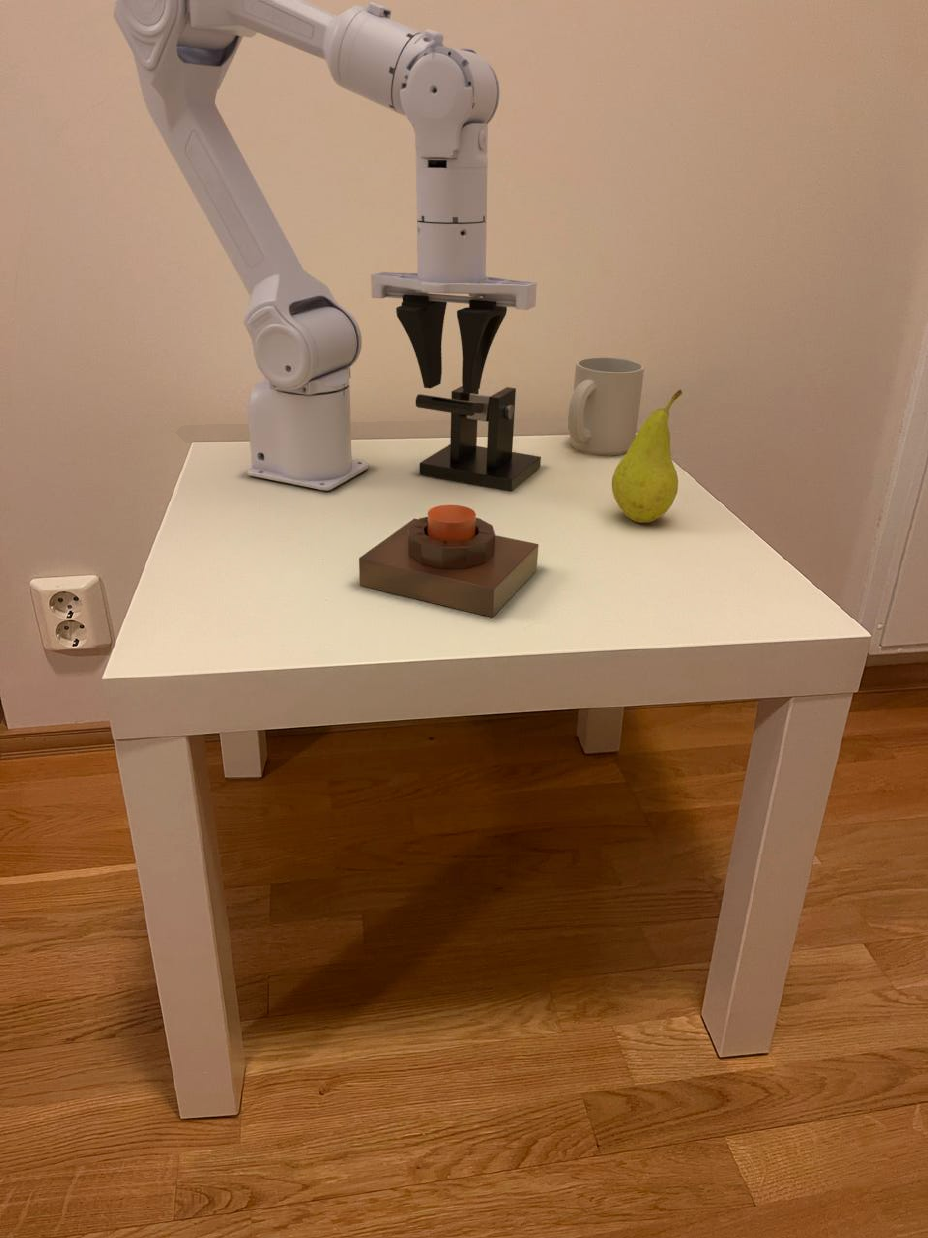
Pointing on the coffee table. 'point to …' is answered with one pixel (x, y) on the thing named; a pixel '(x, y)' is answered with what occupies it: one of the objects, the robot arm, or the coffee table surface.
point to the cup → (605, 405)
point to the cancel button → (451, 523)
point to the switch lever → (457, 405)
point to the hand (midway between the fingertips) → (451, 388)
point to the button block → (450, 567)
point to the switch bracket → (483, 448)
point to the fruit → (647, 471)
